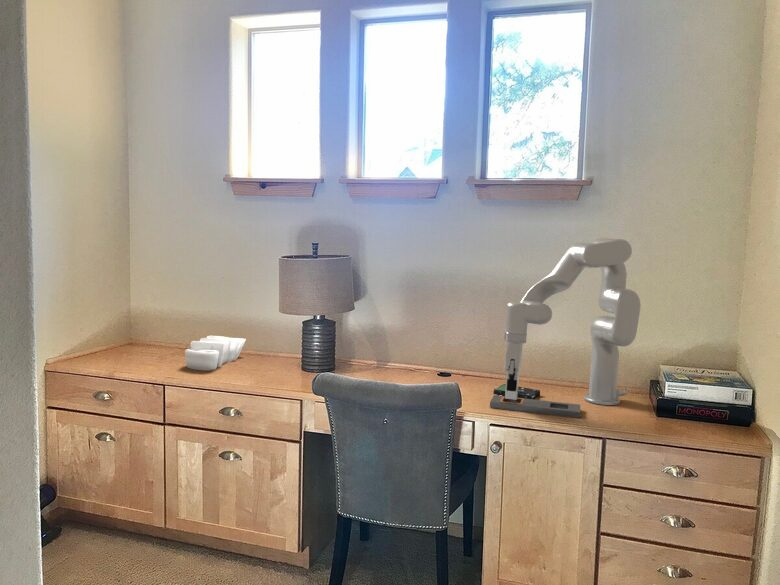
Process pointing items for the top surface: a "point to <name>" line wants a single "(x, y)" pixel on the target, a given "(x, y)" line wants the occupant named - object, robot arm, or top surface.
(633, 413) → the top surface
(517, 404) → the grey slotted board
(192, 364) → the wavy white extrusion
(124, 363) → the top surface
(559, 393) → the top surface
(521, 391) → the disk drive
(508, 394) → the peg
